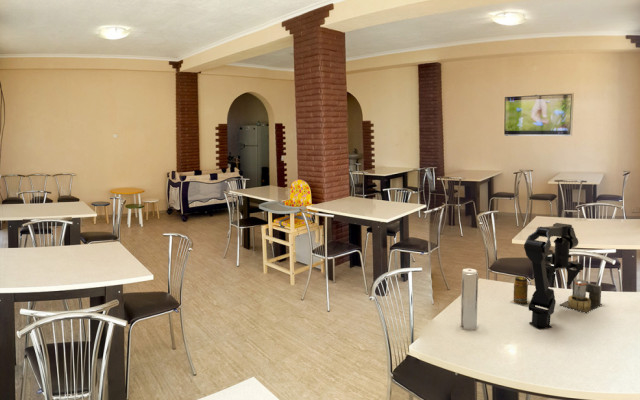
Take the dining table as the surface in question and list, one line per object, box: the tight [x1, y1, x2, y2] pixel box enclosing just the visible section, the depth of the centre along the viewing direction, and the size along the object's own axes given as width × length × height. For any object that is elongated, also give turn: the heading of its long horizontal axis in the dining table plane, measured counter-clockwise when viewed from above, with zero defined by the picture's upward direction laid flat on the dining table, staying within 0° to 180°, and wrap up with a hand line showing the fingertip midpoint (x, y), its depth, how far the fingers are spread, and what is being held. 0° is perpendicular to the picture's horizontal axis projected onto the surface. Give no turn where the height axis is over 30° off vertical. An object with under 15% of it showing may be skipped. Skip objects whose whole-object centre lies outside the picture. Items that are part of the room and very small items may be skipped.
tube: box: [574, 279, 587, 301], centre depth 216 cm, size 5×5×12 cm
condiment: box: [509, 276, 531, 307], centre depth 222 cm, size 7×8×12 cm
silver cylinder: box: [460, 267, 479, 331], centre depth 196 cm, size 6×6×25 cm
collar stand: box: [559, 279, 603, 314], centre depth 217 cm, size 15×12×10 cm
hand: (560, 286), depth 207 cm, fingers open, 9 cm apart
